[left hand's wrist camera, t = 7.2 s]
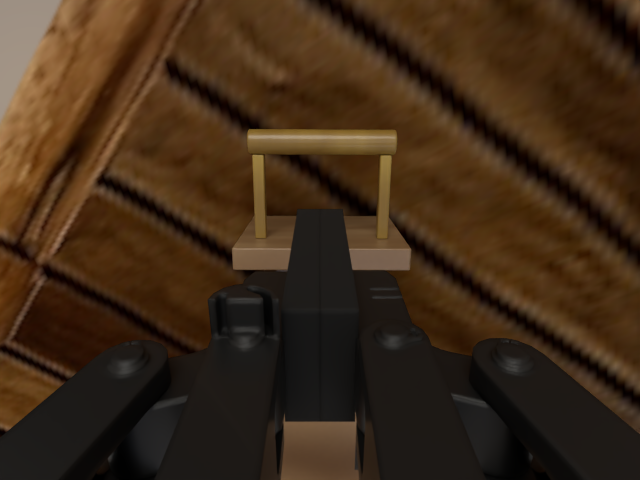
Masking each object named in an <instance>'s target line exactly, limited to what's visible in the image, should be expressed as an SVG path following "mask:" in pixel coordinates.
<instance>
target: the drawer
mask: <svg viewBox="0 0 640 480" xmlns="http://www.w3.org/2000/svg"><path fill="white" fill-rule="evenodd" d="M247 148H248V152H249V154H254V155H253V156H252V160H253V186H254V213H255V216H254V217H253V218H252V220H251V221H250V223H249V224H248V226H247V227H246V229H245V230H244V232H243V233H242V235H241V236H240V238H239V239H238V241H237V242H236V244H235V245H234V247H233V248H232V258H233V269H234V270H264V271H287V270H288V264H289V258H290V252H291V246H292V240H293V234H294V228H295V222H296V216H267V210H266V177H265V155H264V154H309V155H379V169H378V194H377V216H344V222H345V228H346V234H347V240H348V246H349V252H350V258H351V264H352V270H410V262H411V248H410V247H409V245H408V244H407V243H406V241H405V240H404V238H403V237H402V235H401V234H400V233H399V231H398V230H397V228H396V227H395V225H394V224H393V223H392V221H391V220H390V218H389V200H390V180H391V159H392V156H391V155H394V154H395V153H396V149H397V132H396V130H312V129H249V130H248V133H247Z"/></svg>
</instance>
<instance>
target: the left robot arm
mask: <svg viewBox="0 0 640 480" xmlns="http://www.w3.org/2000/svg"><path fill="white" fill-rule="evenodd" d="M208 306H209V315H210V324H211V334H212V339H211V341H210V343H209V346H208V348H206V349H204V350H201V351H199V352H195V353H191V354H187V355H182V356H177V357H172V358H168V353H167V349H166V348H165V347H164V346H163V345H162V344H160V343H157V342H154V341H151V340H135V341H128V342H124V343H121V344H119V345H116V346H114V347H111V348H109V349H107V350H106V351H104V352H102V353H101V354H99V355H98V356H96V357H95V358H94V359H93V360H92V361H90V362H89V363H88V364H87V365H86V366H85V367H83V368H82V369H81V370H80V371H79V372H77V373H76V374H75V375H74V376H73V377H72V378H70V379H69V380H68V381H67V382H66V383H64V384H63V385H62V386H61V387H60V388H58V389H57V390H56V391H55V392H54V393H53V394H51V395H50V396H49V397H48V398H47V399H45V400H44V401H43V402H42V403H41V404H39V405H38V406H37V407H36V408H35V409H34V410H32V411H31V412H30V413H29V414H28V415H26V416H25V417H24V418H23V419H22V420H20V421H19V422H18V423H17V424H16V425H15V426H13V427H12V428H11V429H10V430H9V431H7V432H6V433H5V434H4V435H3V436H2V437H0V480H281V472H282V461H283V451H284V414H285V422H355V412H356V446H355V470H358V472H359V480H640V434H639V433H637V432H636V431H635V430H634V429H633V428H631V427H630V426H629V425H628V424H627V423H625V422H624V421H623V420H622V419H621V418H619V417H618V416H617V415H616V414H615V413H613V412H612V411H611V410H610V409H609V408H608V407H606V406H605V405H604V404H603V403H602V402H600V401H599V400H598V399H597V398H596V397H594V396H593V395H592V394H591V393H590V392H588V391H587V390H586V389H585V388H584V387H582V386H581V385H580V384H579V383H578V382H576V381H575V380H574V379H573V378H572V377H570V376H569V375H568V374H567V373H566V372H564V371H563V370H562V369H561V368H560V367H558V366H557V365H556V364H555V363H554V362H552V361H551V360H550V359H549V358H548V357H546V356H545V355H544V354H543V353H541V352H540V351H538V350H536V349H535V348H533V347H532V346H529V345H527V344H524V343H522V342H519V341H517V340H512V339H511V340H510V339H506V338H490V339H486V340H483V341H480V342H478V343H477V344H476V345H475V347H474V348H473V353H472V356H467V355H462V354H457V353H452V352H448V351H445V350H441V349H438V348H436V347H434V346H432V345H431V343H430V340H429V338H428V336H427V335H426V334H425V332H424V331H423V330H422V329H421V328H419V327H417V326H416V325H414V324H412V322H411V319H410V316H409V314H408V311H407V308H406V305H405V303H404V300H403V299H402V295H401V292H400V290H399V286H398V284H397V281H396V278H394V277H393V276H392V275H390V274H389V273H388V272H387V271H385V270H352V264H351V258H350V252H349V246H348V240H347V234H346V228H345V222H344V216H343V210H342V209H298V210H297V216H296V222H295V228H294V234H293V240H292V246H291V252H290V258H289V264H288V270H287V271H255V272H254V273H253V274H251V275H250V276H249V277H248V278H246V279H245V280H244V283H243V284H239V285H233V286H230V287H226V288H223V289H221V290H219V291H217V292H215V293H214V294H213V295H212V296H211V297H210V298H209V299H208Z"/></svg>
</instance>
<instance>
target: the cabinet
mask: <svg viewBox="0 0 640 480" xmlns="http://www.w3.org/2000/svg"><path fill="white" fill-rule="evenodd" d="M355 446H356V412H355V422H285V414H284V451H283V461H282V472H281V480H359V472H358V470H355Z"/></svg>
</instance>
